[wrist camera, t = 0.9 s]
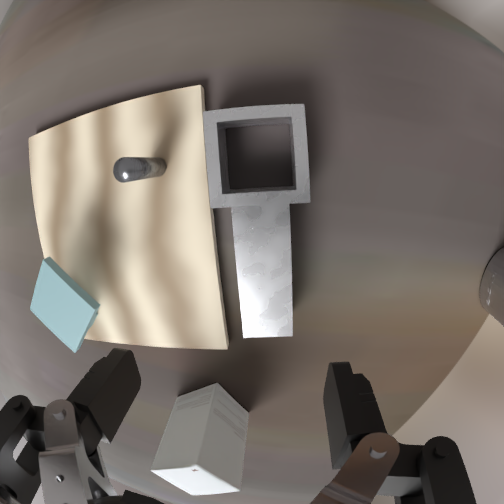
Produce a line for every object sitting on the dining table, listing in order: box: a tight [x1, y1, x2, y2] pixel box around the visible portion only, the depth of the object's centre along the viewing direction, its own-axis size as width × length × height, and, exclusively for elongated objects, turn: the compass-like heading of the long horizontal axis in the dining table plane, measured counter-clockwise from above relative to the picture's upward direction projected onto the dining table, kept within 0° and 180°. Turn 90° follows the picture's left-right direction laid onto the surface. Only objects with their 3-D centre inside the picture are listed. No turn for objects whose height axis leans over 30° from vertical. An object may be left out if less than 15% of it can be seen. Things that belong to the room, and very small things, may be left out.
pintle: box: [113, 157, 167, 183], centre depth 21 cm, size 2×2×8 cm
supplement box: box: [151, 383, 249, 495], centre depth 28 cm, size 7×7×13 cm
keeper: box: [30, 256, 100, 353], centre depth 26 cm, size 9×7×7 cm
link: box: [203, 104, 310, 338], centre depth 24 cm, size 19×8×4 cm, turn 4°
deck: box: [29, 85, 229, 349], centre depth 26 cm, size 22×26×1 cm
